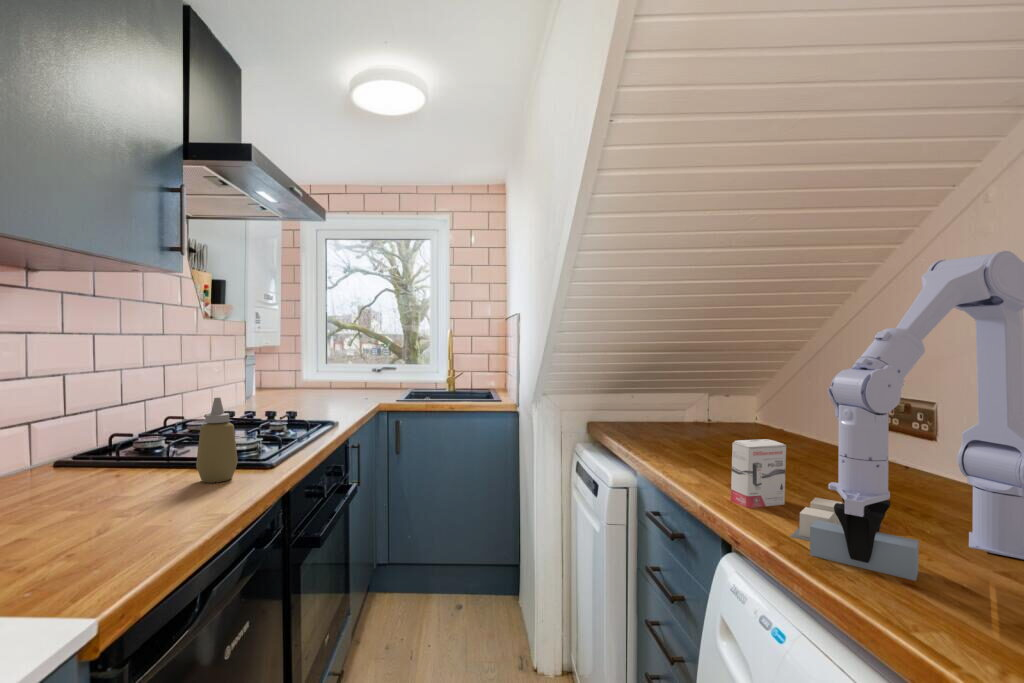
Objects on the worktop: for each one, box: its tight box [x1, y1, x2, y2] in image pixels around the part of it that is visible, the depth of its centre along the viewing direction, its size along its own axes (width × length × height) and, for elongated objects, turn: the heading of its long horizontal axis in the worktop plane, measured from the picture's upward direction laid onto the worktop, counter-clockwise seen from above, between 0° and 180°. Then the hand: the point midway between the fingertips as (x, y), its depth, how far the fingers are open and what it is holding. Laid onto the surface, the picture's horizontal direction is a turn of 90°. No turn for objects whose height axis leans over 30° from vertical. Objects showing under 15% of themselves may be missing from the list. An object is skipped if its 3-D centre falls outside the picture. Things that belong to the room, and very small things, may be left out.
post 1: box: [809, 497, 843, 525], centre depth 88 cm, size 4×4×4 cm
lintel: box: [809, 520, 920, 582], centre depth 72 cm, size 4×12×4 cm, turn 49°
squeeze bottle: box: [195, 397, 239, 484], centre depth 115 cm, size 8×8×18 cm
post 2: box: [799, 506, 834, 538], centre depth 83 cm, size 4×4×4 cm
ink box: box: [730, 438, 787, 509], centre depth 99 cm, size 9×5×12 cm, turn 106°
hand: (862, 555), depth 72 cm, fingers closed on lintel, 4 cm apart
